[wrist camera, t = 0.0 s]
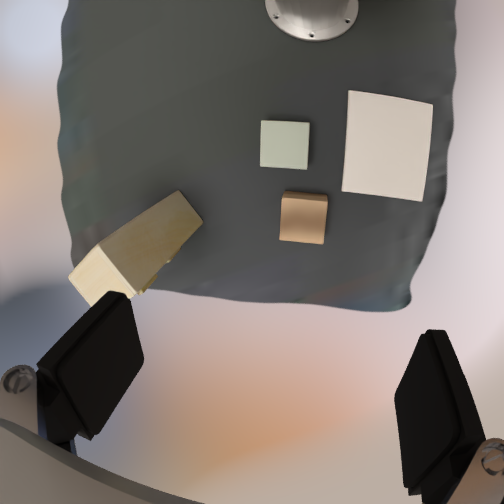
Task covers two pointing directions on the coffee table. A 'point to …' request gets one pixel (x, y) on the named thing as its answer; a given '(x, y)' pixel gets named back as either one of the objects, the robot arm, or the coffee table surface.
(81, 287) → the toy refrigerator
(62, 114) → the coffee table surface
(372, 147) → the baseplate
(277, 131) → the sage block
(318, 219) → the oak block
